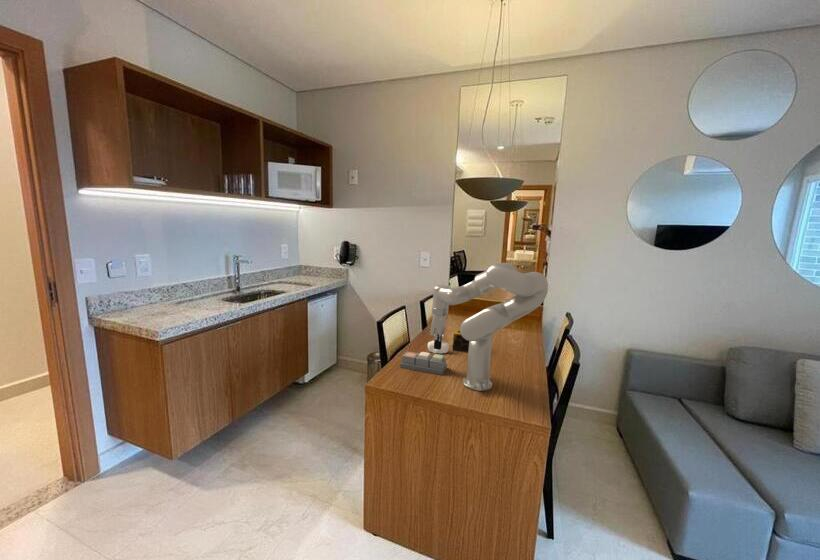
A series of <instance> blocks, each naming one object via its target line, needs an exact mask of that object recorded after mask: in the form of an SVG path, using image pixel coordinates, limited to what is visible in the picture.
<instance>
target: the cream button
mask: <svg viewBox="0 0 820 560" xmlns="http://www.w3.org/2000/svg"><path fill="white" fill-rule="evenodd" d="M430 355H431V353H430V352H425V351H420V353H419V355H418V358H421V359H427V360H428V358H429V357H430Z"/></svg>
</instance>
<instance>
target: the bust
mask: <svg viewBox="0 0 820 560" xmlns="http://www.w3.org/2000/svg"><path fill="white" fill-rule="evenodd" d="M434 335H435V333H434V334H433V336H434ZM444 337H445V335H444V334H443V335H442V340H441V341H442V343H441V349H440V350H438V349H434V340H431V341H429V342H428V343H427V349H428V350H427V351H429V353H430V352H431V353H433V354H439V355H442V354H446V353H448V351H449V349H450V345H449V343H447V342H446V341H443V338H444Z"/></svg>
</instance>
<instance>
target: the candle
mask: <svg viewBox="0 0 820 560" xmlns="http://www.w3.org/2000/svg"><path fill="white" fill-rule="evenodd" d="M452 335H453V336H452V337H453V339H452V345H451V347H452V351H454V352H461V353H462V352H465V353H468V351H469V342H470V341H468V340H466V339H464V338H463V337H462V335H461V332H460V328H454V331H453V334H452Z"/></svg>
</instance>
